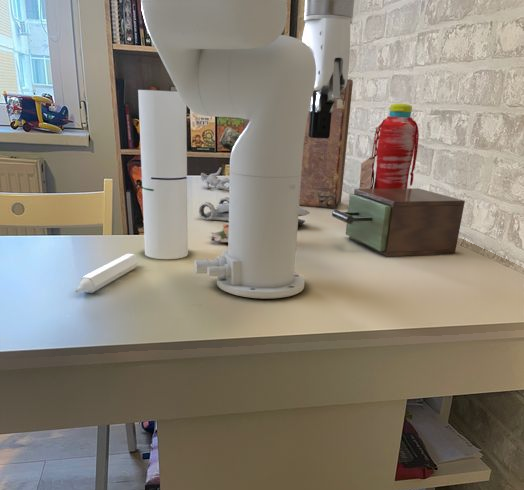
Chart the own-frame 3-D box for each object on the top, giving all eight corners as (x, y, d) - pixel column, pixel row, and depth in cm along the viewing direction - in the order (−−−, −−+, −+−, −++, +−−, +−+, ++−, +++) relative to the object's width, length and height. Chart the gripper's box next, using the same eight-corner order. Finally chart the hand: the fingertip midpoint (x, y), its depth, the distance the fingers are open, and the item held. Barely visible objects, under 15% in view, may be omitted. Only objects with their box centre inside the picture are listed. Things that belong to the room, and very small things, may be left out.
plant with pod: (266, 248, 101) (272, 129, 93) (205, 243, 102) (205, 126, 94) (271, 238, 108) (277, 127, 100) (214, 234, 109) (215, 124, 101)
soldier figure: (222, 195, 159) (190, 177, 163) (226, 205, 164) (195, 187, 168) (238, 175, 161) (206, 158, 164) (241, 185, 165) (210, 168, 169)
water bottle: (347, 226, 123) (360, 101, 112) (356, 220, 129) (369, 102, 119) (402, 232, 118) (421, 104, 108) (409, 226, 125) (427, 104, 115)
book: (341, 203, 149) (354, 79, 137) (335, 209, 141) (348, 77, 129) (251, 195, 156) (256, 76, 144) (241, 200, 148) (244, 74, 136)
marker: (75, 304, 72) (130, 270, 86) (87, 298, 71) (140, 265, 86) (64, 286, 71) (121, 255, 86) (76, 280, 71) (132, 249, 85)
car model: (219, 211, 132) (219, 189, 130) (316, 224, 123) (318, 201, 121) (194, 218, 122) (194, 195, 120) (297, 233, 113) (299, 208, 111)
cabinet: (386, 256, 99) (394, 201, 95) (348, 238, 112) (354, 188, 108) (455, 253, 104) (465, 200, 100) (411, 235, 116) (418, 188, 112)
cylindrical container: (179, 260, 91) (176, 91, 80) (138, 256, 92) (130, 89, 81) (193, 250, 97) (192, 92, 87) (154, 246, 98) (149, 90, 88)
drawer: (353, 252, 97) (358, 206, 94) (321, 235, 109) (325, 194, 106) (443, 248, 103) (451, 205, 100) (404, 232, 115) (410, 193, 111)
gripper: (288, 14, 92) (282, 134, 99) (327, 2, 79) (316, 140, 86) (330, 18, 94) (320, 135, 101) (374, 7, 81) (359, 141, 89)
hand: (318, 137), depth 94 cm, fingers closed
